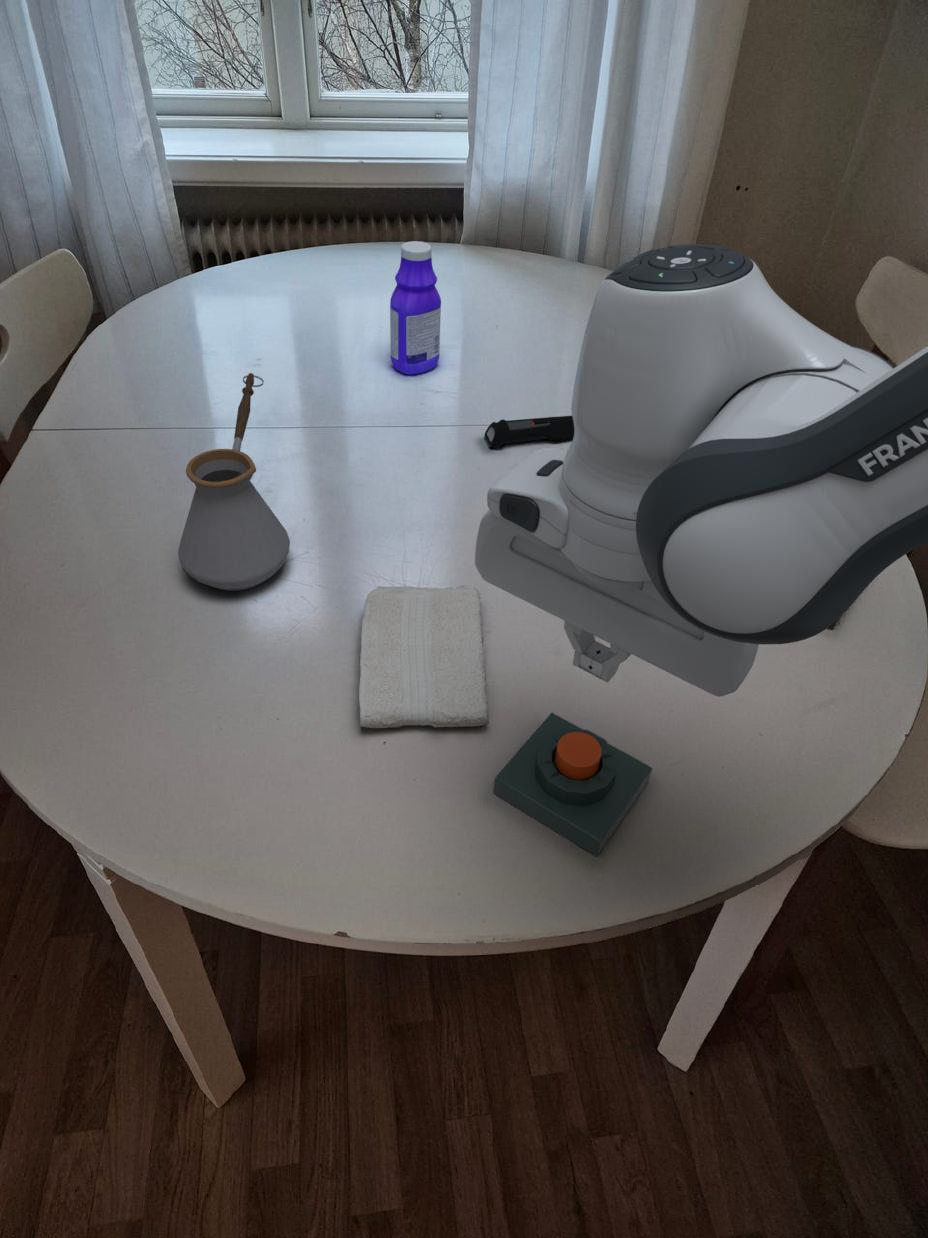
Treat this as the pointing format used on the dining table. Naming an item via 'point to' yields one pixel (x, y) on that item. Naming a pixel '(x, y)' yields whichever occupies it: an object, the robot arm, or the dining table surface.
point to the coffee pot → (231, 517)
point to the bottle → (415, 311)
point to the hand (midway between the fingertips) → (594, 669)
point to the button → (578, 755)
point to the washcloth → (422, 658)
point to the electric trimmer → (529, 430)
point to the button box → (572, 787)
